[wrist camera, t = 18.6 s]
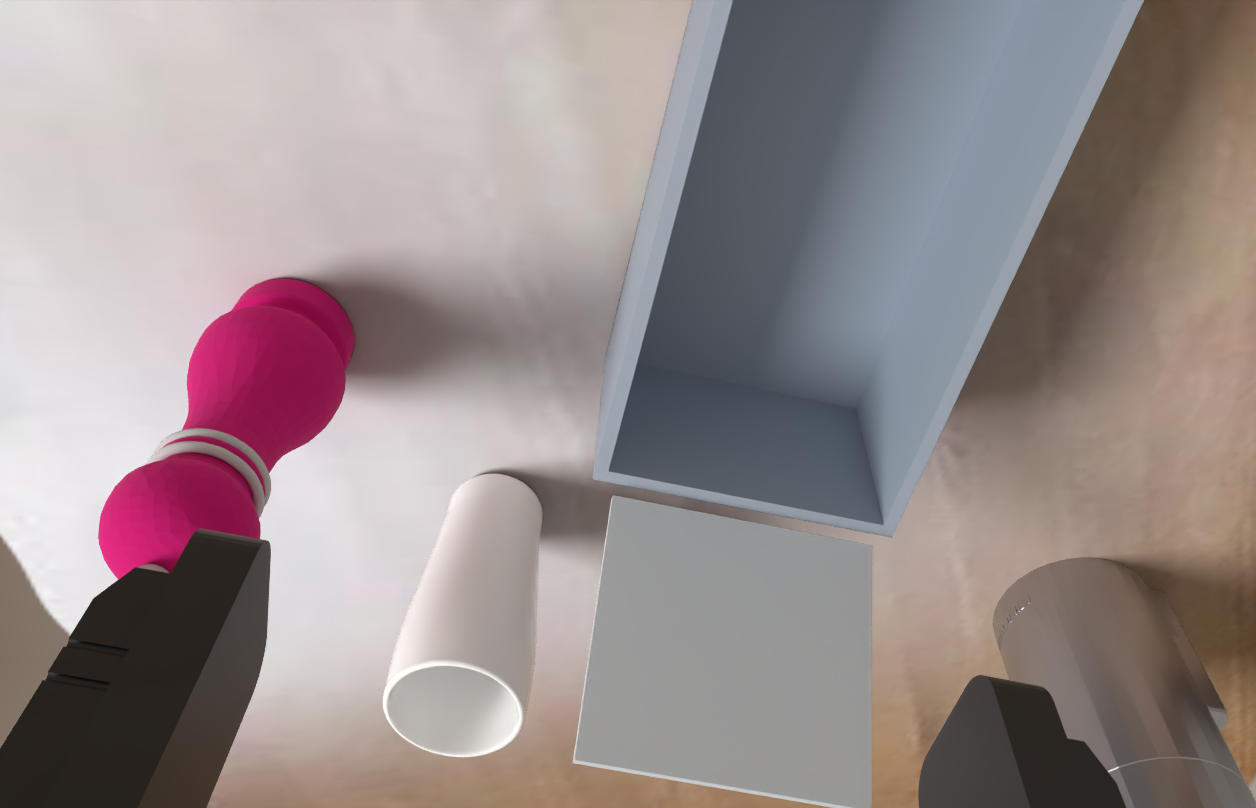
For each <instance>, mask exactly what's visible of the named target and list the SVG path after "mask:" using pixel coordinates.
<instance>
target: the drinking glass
mask: <svg viewBox="0 0 1256 808" xmlns="http://www.w3.org/2000/svg"><path fill="white" fill-rule="evenodd" d="M542 519H543V513H542V507H541V504H540V501H539V499H538V497H537V496H536V494H535V493H534V492H533V490H532V489H531V488H530V487H528V486H527V485H526V484H525V483H523V482H522V481H520V480H518V479H516V478H513V477H510V476H507V475H502V474H483V475H478V476H475V477H473V478H471V479H469V480H467V481H465V482H464V483H463V484H461V485H460V486H459V487H458V488H457V489H456V491H455V492H454V494H453V496H452V498H451V500H450V503H449V507H448V510H447V514H446V518H445V520H444V523H443V526H442V528H441V531H440V533H439V536H438V538H437V541H436V543H435V546H434V548H433V551H432V553H431V556H430V558H429V560H428V563H427V565H426V568H425V570H424V573H423V575H422V577H421V580H420V582H419V585H418V587H417V589H416V592H415V594H414V597H413V599H412V602H411V604H410V606H409V609H408V611H407V614H406V617H405V619H404V622H403V624H402V627H401V630H400V633H399V636H398V639H397V642H396V645H395V649H394V652H393V656H392V660H391V664H390V668H389V673H388V677H387V682H386V687H385V691H384V695H383V708H384V712H385V715H386V718H387V719H388V721H389V723H390V724H391V726H392V727H393V728H394V730H395V731H396V732H397V733H398V734H399V735H401V736H402V737H403V738H404V739H406V740H407V741H408V742H410V743H412V744H413V745H415V746H417V747H419V748H422V749H424V750H426V751H429V752H432V753H436V754H440V755H445V756H452V757H473V756H480V755H485V754H489V753H492V752H494V751H497V750H499V749H501V748H503V747H505V746H506V745H508V744H509V743H510V742H511V741H513V740H514V739H515V738H516V737H517V735H518V734H519V733H520V731H521V729H522V727H523V724H524V721H525V716H526V711H527V706H528V702H529V696H530V691H531V686H532V680H533V673H534V665H535V655H536V637H537V604H538V570H539V545H540V533H541V527H542Z"/></svg>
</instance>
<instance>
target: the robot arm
mask: <svg viewBox="0 0 1256 808" xmlns="http://www.w3.org/2000/svg"><path fill="white" fill-rule="evenodd" d="M270 558H271V549H270V543H269V541H266V540H261V539H255V538H250V537H245V536H239V535H234V534H228V533H223V532H218V531H212V530H207V529H201V528H200V529H198V530H196V531H195V532H194V534H193V535H192V536H191V538H190V540H189V541H188V543H187V545H186V547H185V549H184V550H183V552H182V554H181V556H180V558H179V559H178V561H177V563H176V565H175V567H174V568H173V570H172V572H171V573H166V572H160V571H155V570H149V569H143V568H138V567H135V568H134V569H132V570H131V571H130V572H128V573H127V574H126V575H124V576H123V577H122V578H120V579H119V580H118V581H116V582H115V583H114V584H112V585H111V586H109V587H108V588H107V589H105V590H104V591H103V592H101V593H100V594H99V595H97V596H96V597H95V598H94V599H93V600H92V602H91V603H90V605H89V607H88V608H87V610H86V611H85V613H84V615H83V616H82V618H81V620H80V621H79V623H78V624H77V626H76V628H75V629H74V631H73V632H72V634H71V636H70V637H69V641H68V644H67V646H66V647H63V649H62V650H61V652H60V653H59V655H58V657H57V658H56V660H55V661H54V663H53V665H52V666H51V668H50V669H49V671H48V676H47V679H46V680H45V681H44V680H43V681H42V682H41V684H40V686H39V687H38V689H37V690H36V692H35V694H34V695H33V697H32V699H31V700H30V702H29V704H28V705H27V707H26V708H25V710H24V711H23V713H22V715H21V716H20V718H19V719H18V721H17V723H16V724H15V726H14V727H13V729H12V731H11V732H10V734H9V735H8V737H7V739H6V740H5V742H4V744H3V745H2V747H1V748H0V808H206V807H207V805H208V802H209V800H210V797H211V795H212V792H213V790H214V788H215V785H216V783H217V780H218V778H219V775H220V773H221V770H222V768H223V766H224V763H225V761H226V758H227V756H228V753H229V751H230V748H231V746H232V744H233V741H234V739H235V736H236V734H237V731H238V729H239V727H240V724H241V722H242V719H243V717H244V714H245V712H246V709H247V707H248V705H249V702H250V700H251V697H252V695H253V692H254V689H255V686H256V683H257V680H258V677H259V673H260V670H261V666H262V662H263V657H264V652H265V646H266V639H267V621H268V600H269V579H270ZM993 628H994V634H995V637H996V640H997V643H998V647H999V650H1000V653H1001V656H1002V659H1003V662H1004V665H1005V668H1006V671H1007V674H1008V677H1009V680H1004V679H999V678H993V677H988V676H983V675H978V676H975V677H974V678H973V679H972V680H971V681H970V682H969V683H968V685H967V686H966V688H965V690H964V691H963V693H962V695H961V696H960V698H959V700H958V702H957V703H956V705H955V707H954V709H953V710H952V712H951V714H950V715H949V717H948V719H947V721H946V722H945V724H944V726H943V728H942V729H941V731H940V733H939V734H938V736H937V738H936V740H935V741H934V743H933V745H932V747H931V748H930V750H929V752H928V754H927V756H926V758H925V760H924V763H923V766H922V770H921V775H920V781H919V808H1256V801H1255V798H1254V797H1253V795H1252V793H1251V791H1250V789H1249V787H1248V785H1247V783H1246V781H1245V779H1244V777H1243V775H1242V773H1241V771H1240V769H1239V767H1238V765H1237V764H1236V762H1235V760H1234V758H1233V756H1232V754H1231V752H1230V750H1229V748H1228V746H1227V744H1226V742H1225V740H1224V738H1223V736H1222V734H1221V731H1222V729H1223V728H1224V727H1225V726H1226V724H1227V722H1228V713H1227V711H1226V709H1225V707H1224V705H1223V703H1222V701H1221V700H1220V698H1219V696H1218V694H1217V692H1216V690H1215V688H1214V686H1213V684H1212V682H1211V680H1210V679H1209V677H1208V675H1207V673H1206V671H1205V669H1204V667H1203V665H1202V663H1201V661H1200V659H1199V657H1198V656H1197V654H1196V652H1195V650H1194V648H1193V646H1192V644H1191V642H1190V640H1189V638H1188V636H1187V635H1186V633H1185V631H1184V629H1183V627H1182V625H1181V623H1180V621H1179V619H1178V617H1177V615H1176V613H1175V612H1174V610H1173V608H1172V606H1171V604H1170V602H1169V600H1168V598H1167V596H1166V594H1165V592H1163V591H1158V590H1154V589H1151V588H1149V587H1148V586H1147V585H1146V584H1145V583H1144V581H1143V580H1142V579H1141V578H1140V576H1139V575H1138V574H1136V573H1135V572H1134V571H1132V570H1131V569H1129V568H1128V567H1126V566H1124V565H1121V564H1119V563H1116V562H1114V561H1109V560H1104V559H1100V558H1074V559H1066V560H1061V561H1058V562H1054V563H1050V564H1047V565H1044V566H1042V567H1040V568H1038V569H1035V570H1033V571H1031V572H1029V573H1028V574H1026V575H1025V576H1023V577H1022V578H1020V579H1018V580H1017V581H1016V582H1015V583H1014V584H1013V585H1012V586H1011V587H1010V588H1008V589H1007V590H1006V592H1005V593H1004V595H1003V596H1002V597H1001V599H1000V600H999V602H998V604H997V607H996V609H995V611H994V617H993Z"/></svg>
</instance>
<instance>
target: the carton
mask: <svg viewBox="0 0 1256 808" xmlns="http://www.w3.org/2000/svg"><path fill="white" fill-rule="evenodd" d="M1143 1H1144V0H693V1H692V5H691V9H690V14H689V18H688V22H687V26H686V30H685V34H684V38H683V42H682V46H681V50H680V54H679V59H678V63H677V67H676V71H675V75H674V79H673V83H672V87H671V91H670V95H669V99H668V104H667V108H666V112H665V116H664V120H663V124H662V128H661V132H660V136H659V140H658V144H657V149H656V153H655V157H654V161H653V165H652V169H651V173H650V177H649V181H648V185H647V189H646V194H645V198H644V202H643V206H642V210H641V214H640V218H639V222H638V226H637V230H636V234H635V239H634V243H633V247H632V251H631V255H630V259H629V263H628V267H627V271H626V275H625V279H624V283H623V288H622V292H621V296H620V300H619V304H618V308H617V312H616V316H615V320H614V324H613V328H612V333H611V337H610V341H609V345H608V349H607V353H606V357H605V361H604V371H603V381H602V391H601V400H600V410H599V420H598V429H597V439H596V449H595V459H594V468H593V478H592V479H594V480H599V481H605V482H610V483H615V484H620V485H625V486H630V487H635V488H640V489H645V490H651V491H656V492H661V493H666V494H671V495H676V496H681V497H686V498H692V499H697V500H702V501H707V502H712V503H717V504H722V505H727V506H733V507H738V508H743V509H748V510H753V511H758V512H763V513H768V514H773V515H779V516H784V517H789V518H794V519H799V520H804V521H809V522H814V523H820V524H825V525H830V526H835V527H840V528H845V529H850V530H855V531H861V532H866V533H871V534H876V535H881V536H886V537H891V538H892V536H893V534H894V532H895V530H896V528H897V526H898V523H899V521H900V519H901V517H902V515H903V513H904V511H905V508H906V506H907V504H908V502H909V500H910V498H911V496H912V494H913V491H914V489H915V487H916V485H917V483H918V481H919V479H920V477H921V474H922V472H923V470H924V468H925V466H926V464H927V462H928V459H929V457H930V455H931V453H932V451H933V449H934V447H935V445H936V442H937V440H938V438H939V436H940V434H941V432H942V430H943V427H944V425H945V423H946V421H947V419H948V417H949V415H950V413H951V410H952V408H953V406H954V404H955V402H956V400H957V398H958V396H959V393H960V391H961V389H962V387H963V385H964V383H965V381H966V378H967V376H968V374H969V372H970V370H971V368H972V366H973V364H974V361H975V359H976V357H977V355H978V353H979V351H980V349H981V347H982V344H983V342H984V340H985V338H986V336H987V334H988V332H989V329H990V327H991V325H992V323H993V321H994V319H995V317H996V315H997V312H998V310H999V308H1000V306H1001V304H1002V302H1003V300H1004V298H1005V295H1006V293H1007V291H1008V289H1009V287H1010V285H1011V283H1012V280H1013V278H1014V276H1015V274H1016V272H1017V270H1018V268H1019V266H1020V263H1021V261H1022V259H1023V257H1024V255H1025V253H1026V251H1027V248H1028V246H1029V244H1030V242H1031V240H1032V238H1033V236H1034V234H1035V231H1036V229H1037V227H1038V225H1039V223H1040V221H1041V219H1042V217H1043V214H1044V212H1045V210H1046V208H1047V206H1048V204H1049V202H1050V199H1051V197H1052V195H1053V193H1054V191H1055V189H1056V187H1057V185H1058V182H1059V180H1060V178H1061V176H1062V174H1063V172H1064V170H1065V168H1066V165H1067V163H1068V161H1069V159H1070V157H1071V155H1072V153H1073V150H1074V148H1075V146H1076V144H1077V142H1078V140H1079V138H1080V136H1081V133H1082V131H1083V129H1084V127H1085V125H1086V123H1087V121H1088V118H1089V116H1090V114H1091V112H1092V110H1093V108H1094V106H1095V104H1096V101H1097V99H1098V97H1099V95H1100V93H1101V91H1102V89H1103V87H1104V84H1105V82H1106V80H1107V78H1108V76H1109V74H1110V72H1111V69H1112V67H1113V65H1114V63H1115V61H1116V59H1117V57H1118V55H1119V52H1120V50H1121V48H1122V46H1123V44H1124V42H1125V40H1126V38H1127V35H1128V33H1129V31H1130V29H1131V27H1132V25H1133V23H1134V20H1135V18H1136V16H1137V14H1138V12H1139V10H1140V8H1141V6H1142V3H1143Z"/></svg>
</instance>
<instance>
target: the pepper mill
mask: <svg viewBox="0 0 1256 808" xmlns="http://www.w3.org/2000/svg"><path fill="white" fill-rule="evenodd" d="M353 350H354V333H353V328H352V325H351V323H350V320H349V318H348V316H347V314H346V313H345V311H344V310H343V308H342V307H341V306H340V305H339V304H338V302H337V301H336V300H335V299H334V298H332V297H331V296H330V295H328V294H327V293H325V292H324V291H323V290H321V289H320V288H318V287H316V286H314V285H311V284H309V283H306V282H303V281H298V280H293V279H274V280H267V281H265V282H262V283H259V284H256V285H254V286H253V287H251V288H250V289H249V290H247V291H246V292H245V293H244V294H243V295H242V296H241V298H240V299H239V301H238V302H237V304H236V305H235V306H234V308H233V309H232V311H230V312H228V313H226V314H224V315H222V316H220V317H219V318H218V319H216V320H215V321H214V322H213V323H212V324H211V325H210V326H209V327H208V328H207V329H206V330H205V331H204V333H203V334H202V336H201V337H200V339H199V341H198V343H197V345H196V347H195V349H194V351H193V354H192V356H191V359H190V363H189V369H188V375H187V390H188V399H189V412H188V417H187V420H186V422H185V425H184V427H183V429H182V431H178V432H176V433H174V434H171V435H170V436H168V437H166V438H165V439H164V440H163V441H162V442H161V443H160V444H159V445H158V447H157V448H156V450H155V452H154V454H153V455H152V456H151V458H150V459H149V460H148V462H147V463H146V465H144V466H142V467H139V468H137V469H135V470H134V471H132V472H130V473H129V474H127V475H126V476H125V477H124V478H123V479H122V480H121V481H120V482H119V483H118V484H117V485H116V486H115V488H114V489H113V491H112V493H111V494H110V496H109V498H108V499H107V501H106V503H105V506H104V508H103V511H102V513H101V516H100V523H99V535H98V539H99V545H100V548H101V551H102V554H103V557H104V560H105V562H106V563H107V565H108V567H109V568H110V570H111V571H112V572H113V574H114V575H115V576H116V577H117V578H118V579H120V578H122V577H123V576H124V575H126V574H127V573H128V572H130V571H131V570H132V569H134V568H135V567H138V568H143V569H149V570H155V571H160V572H166V573H171V572H172V570H173V568H174V567H175V565H176V563H177V561H178V559H179V558H180V556H181V554H182V552H183V550H184V549H185V547H186V545H187V543H188V541H189V540H190V538H191V536H192V535H193V534H194V532H195V531H196V530H198V529H200V528H201V529H207V530H212V531H218V532H223V533H228V534H234V535H239V536H245V537H250V538H255V539H260V522H259V517H260V516H261V514H262V512H263V508H264V506H265V505H266V503H267V501H268V499H269V496H270V492H271V480H270V476H269V473H270V471H271V470H272V468H273V467H274V465H275V464H276V462H277V461H278V460H279V459H280V458H281V457H282V456H283V455H285V454H287V453H288V452H290V451H292V450H294V449H296V448H298V447H300V446H302V445H304V444H306V443H308V442H309V441H310V440H312V439H313V438H314V437H315V436H316V435H317V434H319V433H320V432H321V431H322V430H323V429H324V428H325V427H326V426H327V425H328V423H329V422H330V421H331V419H332V418H333V416H334V414H335V413H336V411H337V410H338V408H339V406H340V404H341V402H342V398H343V395H344V391H345V372H344V371H345V369H346V367H347V365H348V363H349V361H350V358H351V356H352V353H353Z"/></svg>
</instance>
